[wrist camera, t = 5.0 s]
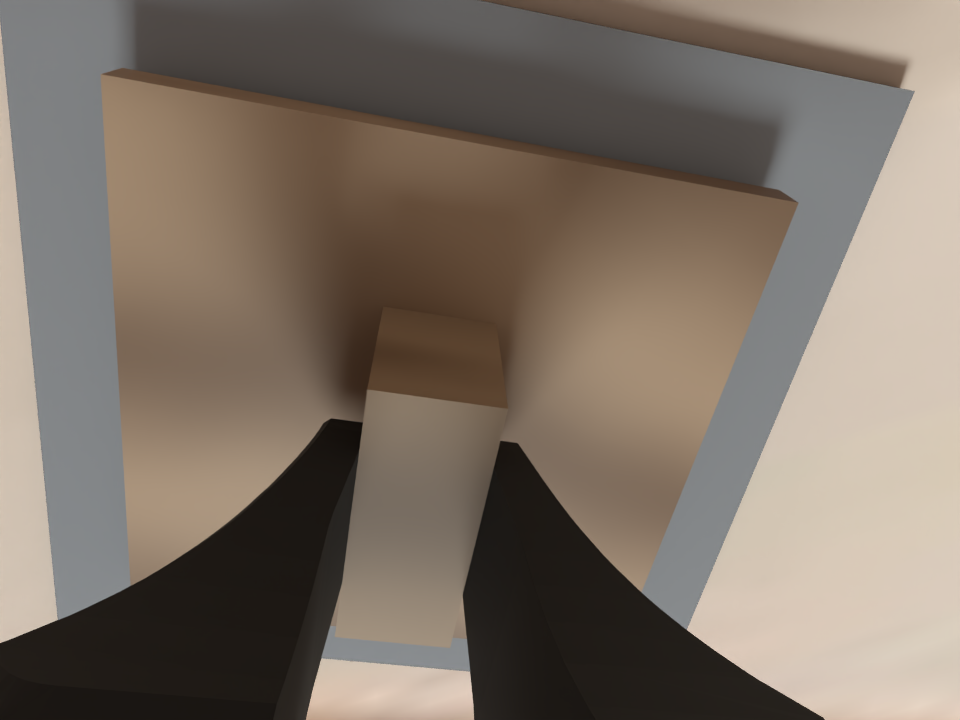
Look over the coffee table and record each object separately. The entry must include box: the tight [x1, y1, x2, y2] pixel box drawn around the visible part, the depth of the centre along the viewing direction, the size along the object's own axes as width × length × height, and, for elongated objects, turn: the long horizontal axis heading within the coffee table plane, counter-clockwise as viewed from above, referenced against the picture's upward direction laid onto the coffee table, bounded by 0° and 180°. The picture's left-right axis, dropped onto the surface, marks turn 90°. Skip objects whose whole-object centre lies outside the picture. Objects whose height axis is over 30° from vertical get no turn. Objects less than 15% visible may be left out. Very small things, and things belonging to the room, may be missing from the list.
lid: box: [101, 68, 798, 648], centre depth 13 cm, size 11×11×4 cm
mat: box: [0, 0, 915, 671], centre depth 15 cm, size 15×15×1 cm
